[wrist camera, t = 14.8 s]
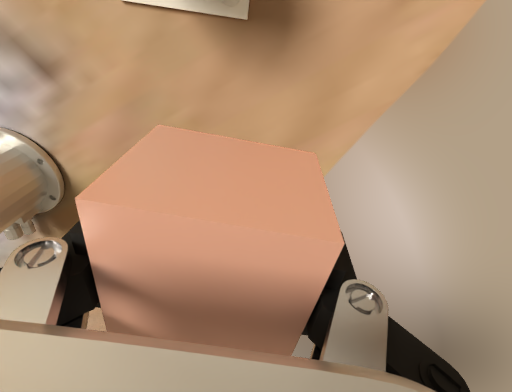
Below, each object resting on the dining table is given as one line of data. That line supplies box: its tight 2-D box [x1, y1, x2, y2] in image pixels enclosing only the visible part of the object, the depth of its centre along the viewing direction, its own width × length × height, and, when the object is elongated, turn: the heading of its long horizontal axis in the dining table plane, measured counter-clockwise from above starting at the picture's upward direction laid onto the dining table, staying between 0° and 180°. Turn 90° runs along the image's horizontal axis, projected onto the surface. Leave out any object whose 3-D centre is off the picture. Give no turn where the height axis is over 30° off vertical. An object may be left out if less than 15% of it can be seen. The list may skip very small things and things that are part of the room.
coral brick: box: [75, 124, 345, 356], centre depth 10 cm, size 6×6×5 cm
